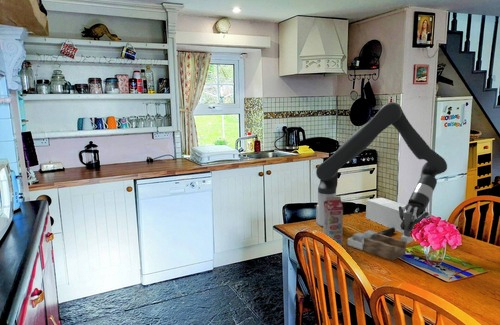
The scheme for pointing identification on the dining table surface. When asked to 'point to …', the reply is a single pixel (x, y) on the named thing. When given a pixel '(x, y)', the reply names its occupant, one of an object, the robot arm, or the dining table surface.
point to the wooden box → (385, 247)
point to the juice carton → (333, 218)
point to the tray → (355, 244)
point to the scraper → (407, 221)
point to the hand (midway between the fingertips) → (405, 229)
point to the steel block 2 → (370, 235)
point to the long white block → (385, 212)
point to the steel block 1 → (358, 237)
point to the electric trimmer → (387, 232)
